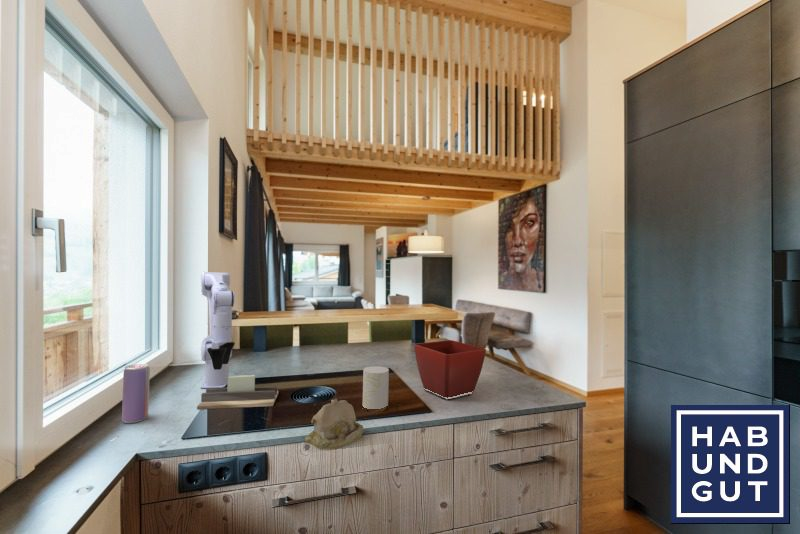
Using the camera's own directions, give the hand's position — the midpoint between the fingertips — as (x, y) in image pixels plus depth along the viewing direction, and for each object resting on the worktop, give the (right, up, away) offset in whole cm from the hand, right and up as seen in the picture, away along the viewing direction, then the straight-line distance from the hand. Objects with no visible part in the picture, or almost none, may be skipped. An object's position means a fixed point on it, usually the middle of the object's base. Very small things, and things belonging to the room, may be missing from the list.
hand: (221, 366), depth 121 cm
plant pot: (+78, -12, +9) cm, 80 cm away
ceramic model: (+44, -11, -29) cm, 53 cm away
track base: (+8, -10, -4) cm, 14 cm away
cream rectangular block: (+9, -9, -4) cm, 13 cm away
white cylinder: (+53, -11, -7) cm, 54 cm away
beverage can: (-14, -9, -21) cm, 27 cm away
